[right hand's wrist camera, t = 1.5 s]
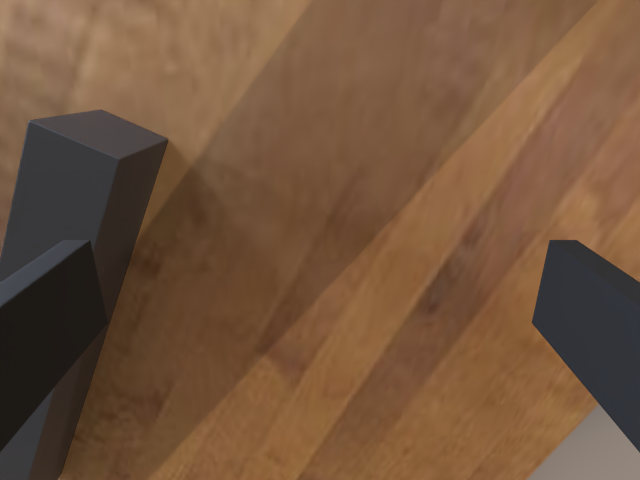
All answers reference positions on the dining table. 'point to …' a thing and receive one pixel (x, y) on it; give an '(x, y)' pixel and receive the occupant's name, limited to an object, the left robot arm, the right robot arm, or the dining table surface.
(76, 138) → the beam
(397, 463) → the dining table surface
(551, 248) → the right robot arm
